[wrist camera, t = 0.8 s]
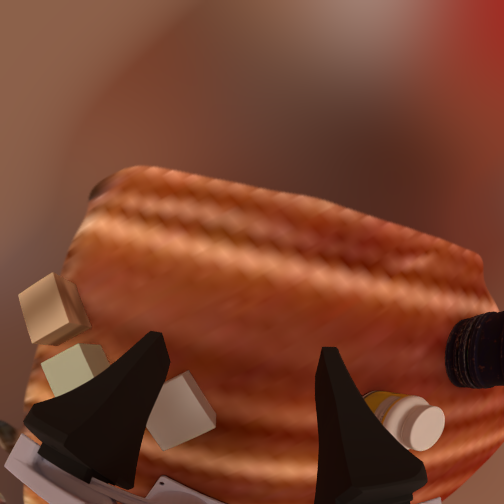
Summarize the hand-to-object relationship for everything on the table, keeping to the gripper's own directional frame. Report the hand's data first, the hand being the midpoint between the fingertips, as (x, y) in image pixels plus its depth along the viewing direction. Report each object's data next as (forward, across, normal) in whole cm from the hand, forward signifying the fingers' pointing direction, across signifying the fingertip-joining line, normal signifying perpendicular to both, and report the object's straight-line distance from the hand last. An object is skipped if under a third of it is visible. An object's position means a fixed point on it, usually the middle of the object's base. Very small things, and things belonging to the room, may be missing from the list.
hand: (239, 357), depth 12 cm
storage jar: (+14, -28, +16) cm, 35 cm away
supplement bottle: (+7, -12, +17) cm, 22 cm away
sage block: (+4, +16, +12) cm, 20 cm away
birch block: (+8, +20, +7) cm, 23 cm away
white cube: (+5, +7, +14) cm, 16 cm away
